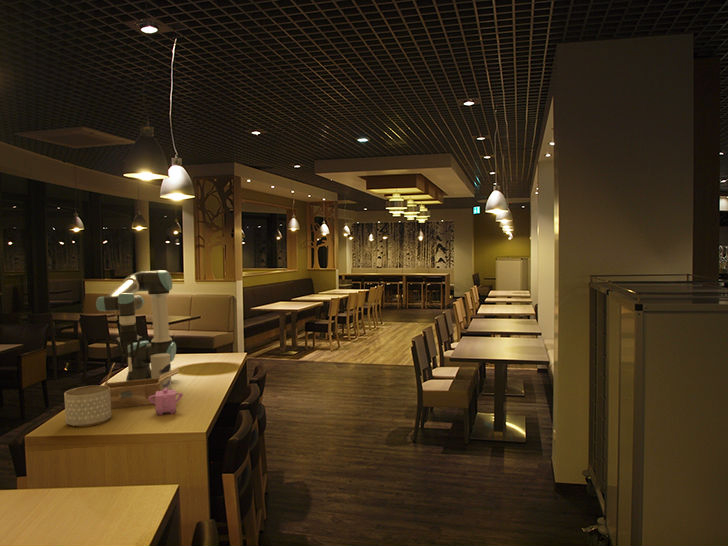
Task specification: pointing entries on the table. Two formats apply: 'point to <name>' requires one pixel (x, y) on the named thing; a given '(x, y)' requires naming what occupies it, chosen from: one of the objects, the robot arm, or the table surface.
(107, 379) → the flap
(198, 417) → the table surface
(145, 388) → the carton
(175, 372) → the flap
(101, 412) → the planter
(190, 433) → the table surface
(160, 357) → the container
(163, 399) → the teapot
